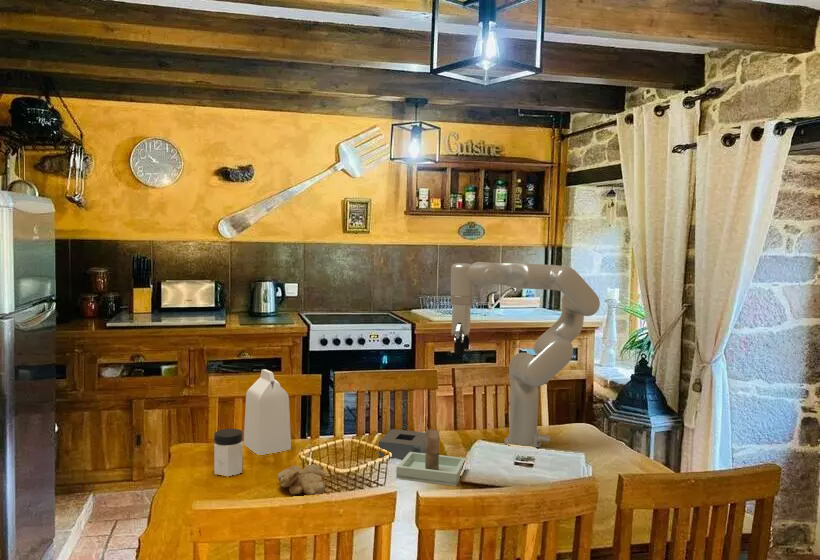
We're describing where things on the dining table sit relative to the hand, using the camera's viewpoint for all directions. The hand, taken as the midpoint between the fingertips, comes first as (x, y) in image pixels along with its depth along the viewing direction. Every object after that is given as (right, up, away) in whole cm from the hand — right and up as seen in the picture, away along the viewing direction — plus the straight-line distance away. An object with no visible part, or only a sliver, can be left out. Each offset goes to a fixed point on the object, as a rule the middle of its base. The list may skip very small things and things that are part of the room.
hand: (461, 351), depth 219 cm
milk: (-65, -32, -1) cm, 72 cm away
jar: (-71, -34, -23) cm, 82 cm away
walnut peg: (-11, -33, -22) cm, 41 cm away
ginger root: (-48, -35, -35) cm, 69 cm away
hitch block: (-19, -33, -3) cm, 38 cm away
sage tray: (-11, -34, -22) cm, 42 cm away
